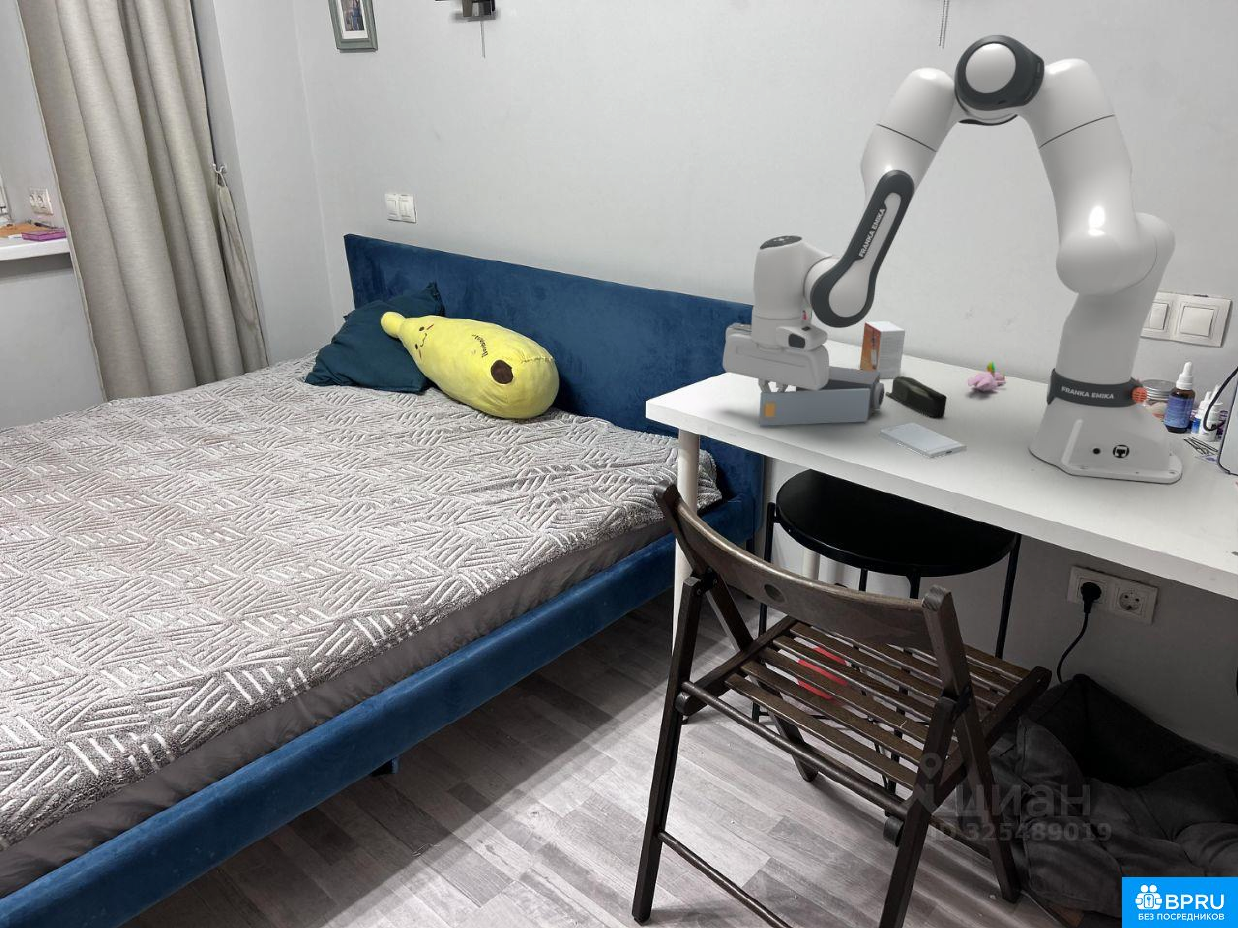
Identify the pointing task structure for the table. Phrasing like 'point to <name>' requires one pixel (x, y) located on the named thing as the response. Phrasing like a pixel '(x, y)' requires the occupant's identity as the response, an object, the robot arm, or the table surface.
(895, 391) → the dark green rounded block
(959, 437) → the table surface
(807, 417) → the side door
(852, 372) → the box
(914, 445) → the hard drive
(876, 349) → the small box
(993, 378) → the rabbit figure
